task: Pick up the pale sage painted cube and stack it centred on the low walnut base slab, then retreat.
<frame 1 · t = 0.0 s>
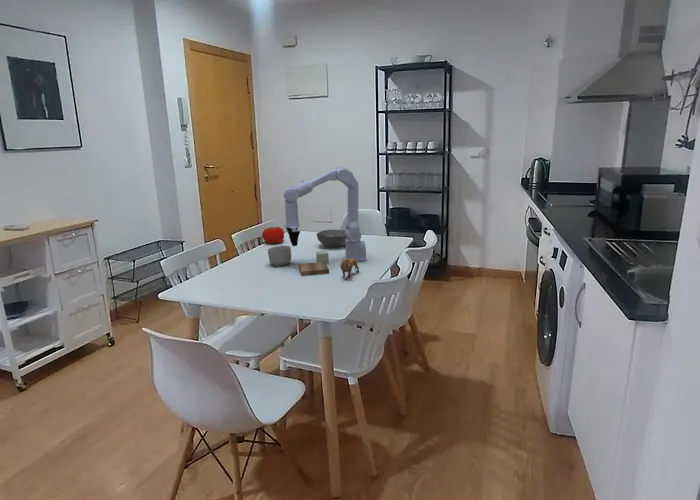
hand: (293, 244, 212), 10 cm above the table, fingers open, 7 cm apart
bowl: (334, 246, 247), on the table
base: (313, 270, 205), on the table
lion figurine: (350, 276, 196), on the table
block: (322, 262, 217), on the table
teacup: (281, 263, 218), on the table
tomato: (273, 243, 260), on the table
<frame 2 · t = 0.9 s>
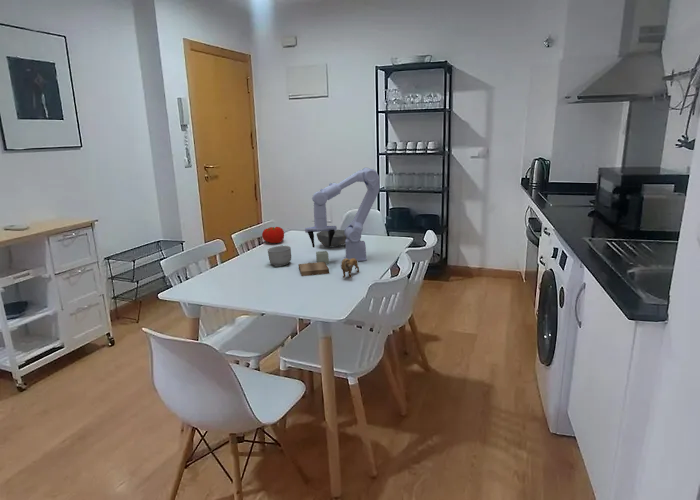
hand: (321, 246, 215), 8 cm above the table, fingers open, 7 cm apart
nothing on the table moved.
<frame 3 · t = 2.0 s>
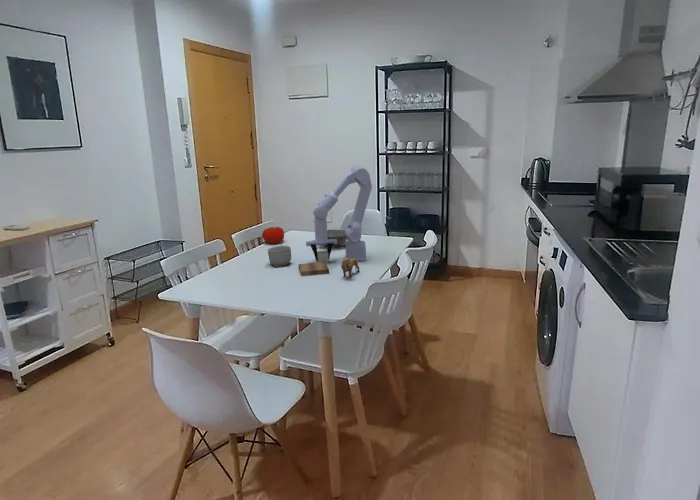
hand: (322, 259, 217), 1 cm above the table, fingers closed on block, 5 cm apart
block: (322, 262, 217), on the table, touching gripper
everything else where it was.
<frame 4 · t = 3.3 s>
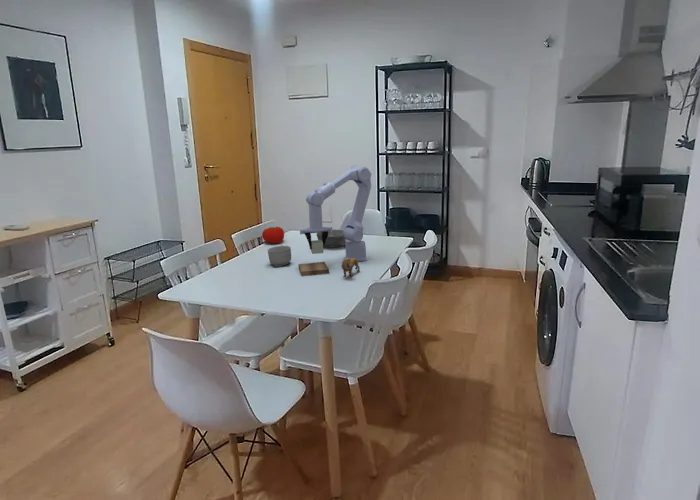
hand: (317, 248, 209), 9 cm above the table, fingers closed on block, 5 cm apart
block: (317, 252, 210), point 7 cm above the table, touching gripper
when the fingers open (5 cm above the table, at t = 4.8 s): block stays where it is, resting on base.
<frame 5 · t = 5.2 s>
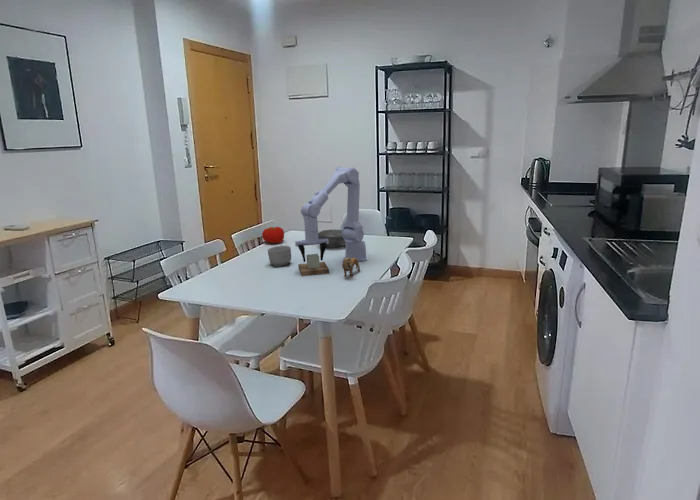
hand: (313, 260, 203), 5 cm above the table, fingers open, 7 cm apart
block: (313, 266, 204), point 2 cm above the table, touching base
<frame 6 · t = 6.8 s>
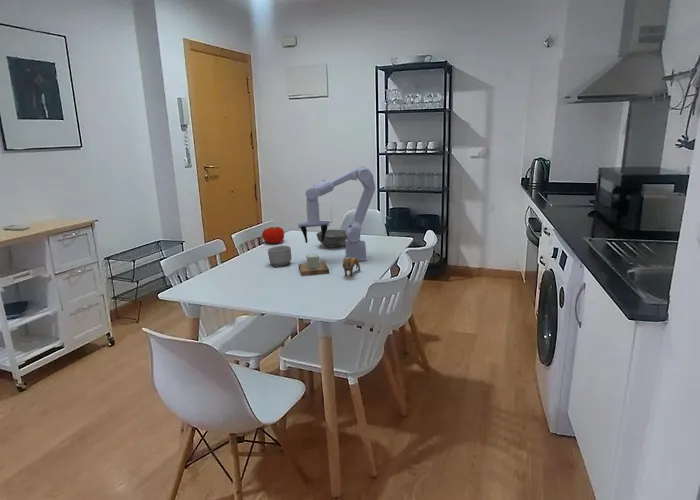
hand: (314, 241, 216), 10 cm above the table, fingers open, 7 cm apart
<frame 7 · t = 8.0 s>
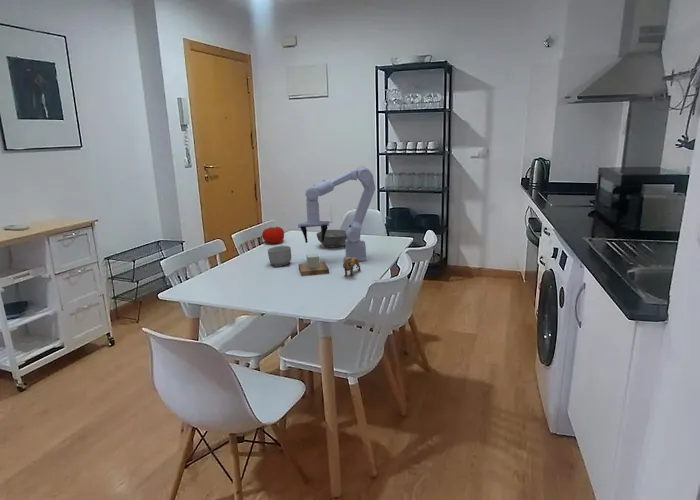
hand: (314, 241, 216), 10 cm above the table, fingers open, 7 cm apart
at the end: block inside the target area on the base (0.3 cm from its centre), point 2.0 cm above the base's base; block tilted 0°; the gripper is holding nothing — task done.
